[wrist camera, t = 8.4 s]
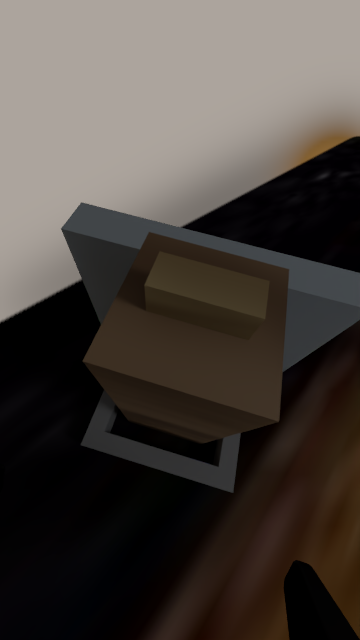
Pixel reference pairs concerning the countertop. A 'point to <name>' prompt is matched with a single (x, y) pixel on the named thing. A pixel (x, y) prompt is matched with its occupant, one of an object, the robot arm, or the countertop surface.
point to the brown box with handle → (194, 341)
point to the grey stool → (304, 275)
